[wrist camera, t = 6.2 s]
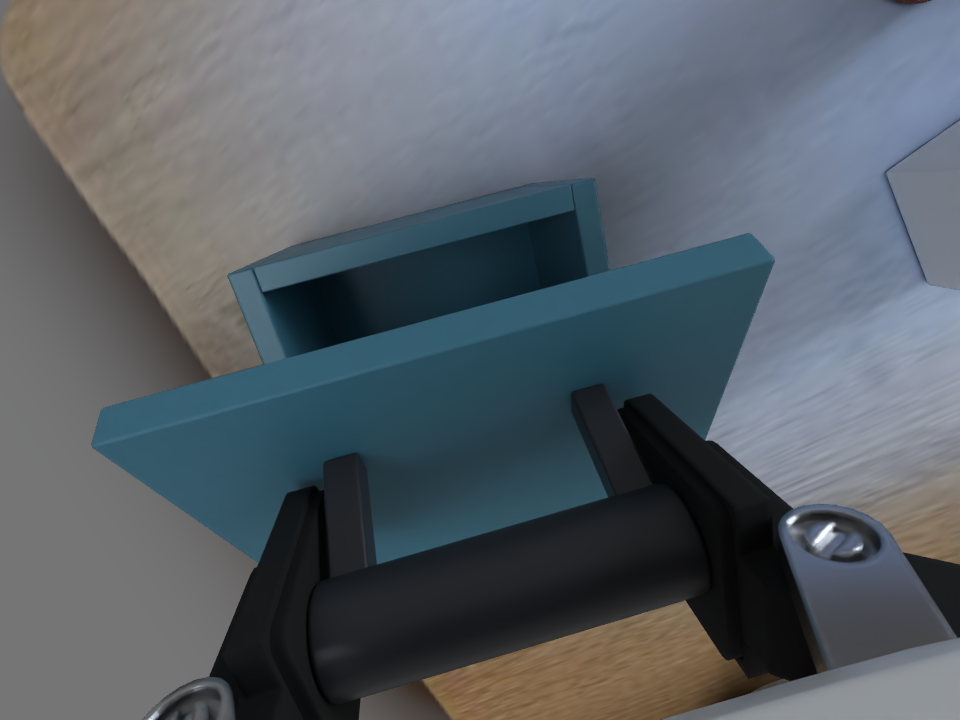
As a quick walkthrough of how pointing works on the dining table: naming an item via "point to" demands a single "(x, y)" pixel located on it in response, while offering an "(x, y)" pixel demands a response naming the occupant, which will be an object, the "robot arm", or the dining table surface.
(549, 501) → the case lid
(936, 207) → the milk carton
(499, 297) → the case
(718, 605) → the robot arm
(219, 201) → the dining table surface
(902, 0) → the supplement bottle
